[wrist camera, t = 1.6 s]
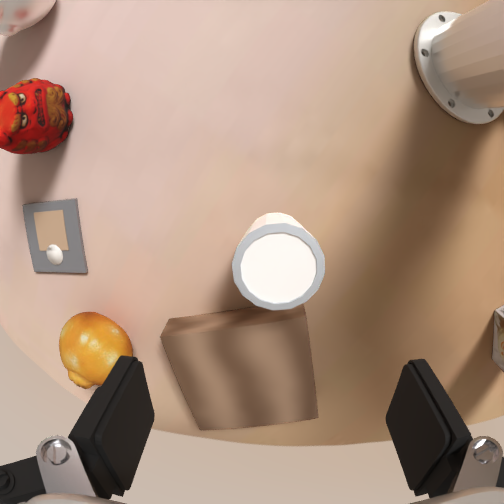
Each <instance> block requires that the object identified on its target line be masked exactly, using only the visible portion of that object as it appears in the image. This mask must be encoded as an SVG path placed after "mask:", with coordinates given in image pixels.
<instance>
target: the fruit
mask: <svg viewBox="0 0 504 504" xmlns="http://www.w3.org/2000/svg"><path fill="white" fill-rule="evenodd" d="M59 349H60V356H61V359H62V362H63V364H64V367H65V368H66V369H67V370H68V376H69V379H70V380H71V381H73V382H74V383H75V384H76V385H77V386H79V387H82V388H84V389H89V388H91V387H92V386H93V385H95V384H96V385H102V384H103V383H104V381H105V379H106V378H107V376H108V374H109V373H110V371H111V370H112V368H113V366H114V365H115V363H116V361H117V360H118V358H119V357H120V356H121V355H124V356H132V355H133V349H132V345H131V342H130V339H129V337H128V335H127V334H126V332H125V331H124V330H123V329H122V328H121V327H120V326H119V325H117V324H116V323H115V322H114V321H112V320H111V319H109V318H107V317H105V316H103V315H100V314H98V313H95V312H83V313H80V314H77V315H75V316H73V317H72V318H71V319H70V320H69V321H68V322H67V323H66V324H65V325H64V327H63V329H62V331H61V334H60V340H59Z"/></svg>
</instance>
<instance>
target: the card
mask: <svg viewBox="0 0 504 504" xmlns="http://www.w3.org/2000/svg"><path fill="white" fill-rule="evenodd" d="M23 213H24V220H25V226H26V232H27V238H28V243H29V249H30V254H31V258H32V263H33V268H34V271H35V272H69V273H87V272H88V269H87V264H86V258H85V252H84V246H83V240H82V234H81V227H80V219H79V211H78V203H77V198H76V199H66V200H57V201H48V202H40V203H32V204H24V205H23Z"/></svg>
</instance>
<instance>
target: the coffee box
mask: <svg viewBox="0 0 504 504" xmlns="http://www.w3.org/2000/svg"><path fill="white" fill-rule="evenodd" d="M492 360H493V361H494V362H495V363H496V364H497V365H498V366H499V367H500V369H501V370H502V371H503V372H504V305H503V306H501V307H500V308H498V309H496V310H495V311H494V338H493V354H492Z"/></svg>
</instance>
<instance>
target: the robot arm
mask: <svg viewBox="0 0 504 504" xmlns="http://www.w3.org/2000/svg"><path fill="white" fill-rule="evenodd" d="M422 54H423V55H422ZM414 57H415V61H416V65H417V69H418V71H419V74H420V77H421V79H422V81H423V83H424V85H425V87H426V89H427V90H428V92H429V93H430V94H431V96H432V97H433V99H434V100H435V101H436V102H437V103H438V104H439V105H440V106H441V108H442V109H444V110H445V111H446V112H447V113H449V114H450V115H451V116H453V117H455V118H456V119H458V120H460V121H463V122H466V123H470V124H485V123H488V122H491V121H493V120H495V119H496V118H497V117H498V116H499V115H500V114H501V113H502V112H503V110H504V0H489V1H487V2H485V3H483V4H481V5H479V6H477V7H475V8H474V9H472V10H470V11H468V12H466V13H464V14H463V15H462V14H459V13H455V12H450V11H442V12H437V13H434V14H432V15H430V16H429V17H427V18H426V19H425V20H424V21H422V23H421V24H420V26H419V27H418V29H417V32H416V34H415V39H414ZM153 422H154V410H153V406H152V402H151V398H150V394H149V390H148V386H147V382H146V377H145V373H144V368H143V364H142V362H140V361H138V359H137V358H136V357H132V356H124V355H121V356H120V357H119V358H118V360H117V361H116V363H115V365H114V366H113V368H112V370H111V371H110V373H109V374H108V376H107V378H106V379H105V381H104V383H103V384H102V386H101V387H98V388H97V389H96V390H95V392H94V394H93V395H92V397H91V399H90V400H89V402H88V404H87V405H86V407H85V409H84V410H83V412H82V414H81V416H80V417H79V419H78V421H77V422H76V424H75V426H74V428H73V429H72V431H71V433H70V434H69V436H68V438H67V437H64V436H58V435H57V436H51V437H48V438H46V439H44V440H43V441H42V442H41V443H40V444H39V445H38V448H37V451H36V454H37V455H36V456H34V457H31V458H27V459H24V460H20V461H17V462H14V463H10V464H6V465H3V466H0V504H125V503H121V502H117V501H112V500H109V499H110V498H111V496H112V494H115V495H118V496H122V497H123V494H124V492H125V490H129V489H130V487H131V484H132V482H133V478H134V475H135V473H136V470H137V467H138V464H139V461H140V458H141V455H142V453H143V450H144V447H145V444H146V441H147V438H148V436H149V433H150V430H151V427H152V425H153ZM386 424H387V426H388V429H389V432H390V435H391V437H392V440H393V443H394V446H395V448H396V451H397V454H398V457H399V460H400V463H401V466H402V468H403V471H404V474H405V477H406V480H407V483H408V486H409V488H410V490H414V493H415V496H420V495H423V494H427V493H428V495H429V498H430V499H426V500H423V501H418V502H414V503H410V504H504V457H502V455H503V451H502V448H501V446H500V444H499V443H498V442H497V441H496V440H495V439H493V438H491V437H486V436H480V437H477V438H474V439H473V438H472V436H471V433H470V432H469V430H468V428H467V426H466V425H465V423H464V421H463V419H462V418H461V416H460V414H459V413H458V411H457V409H456V408H455V406H454V404H453V403H452V401H451V399H450V398H449V396H448V394H447V393H446V391H445V390H444V388H443V386H442V385H441V383H440V382H439V380H438V378H437V377H436V375H435V374H434V372H433V371H432V369H431V368H430V366H429V364H428V363H427V361H426V360H425V359H417V360H410V361H409V362H408V364H406V365H404V367H403V370H402V373H401V376H400V379H399V382H398V384H397V387H396V390H395V393H394V396H393V398H392V401H391V404H390V406H389V409H388V412H387V414H386Z"/></svg>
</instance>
